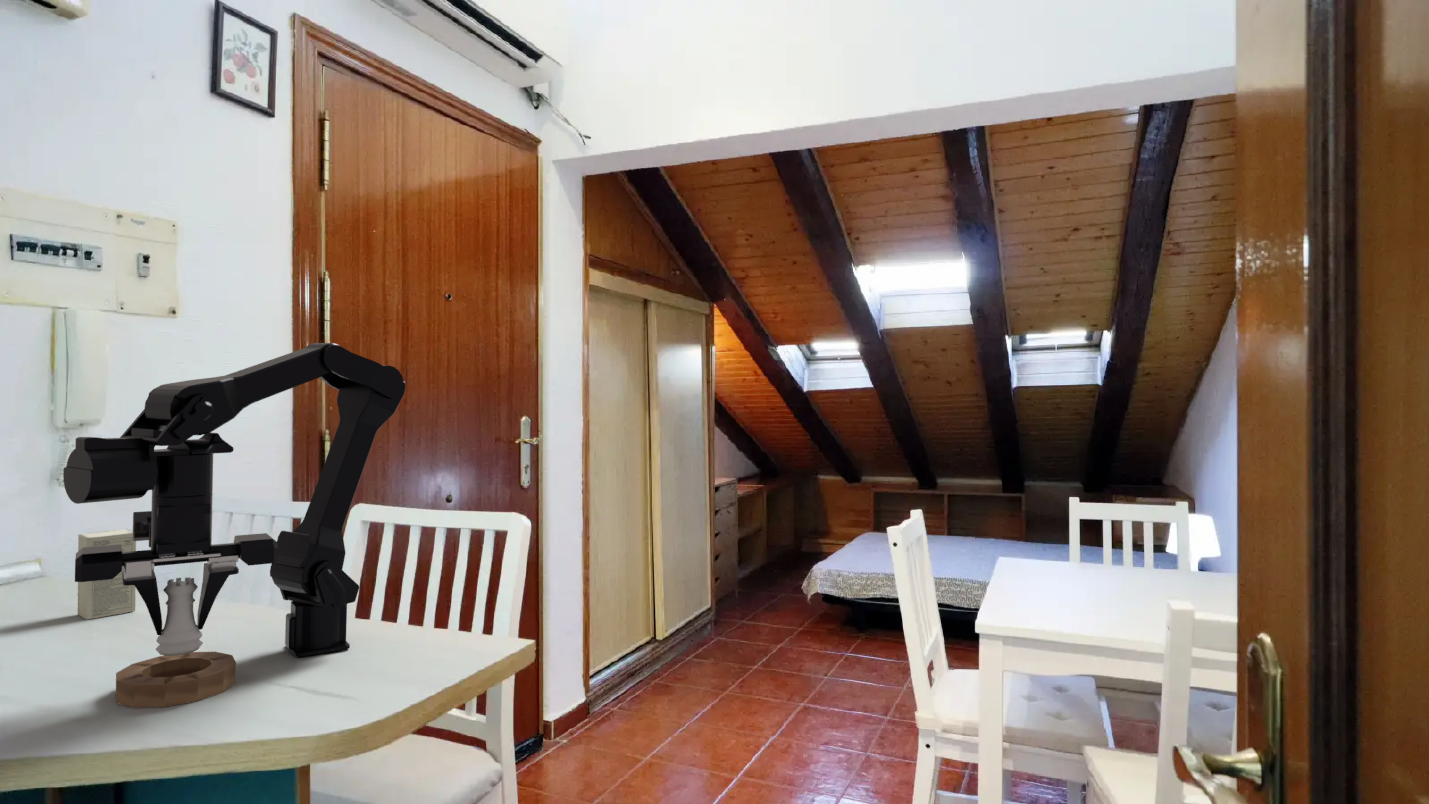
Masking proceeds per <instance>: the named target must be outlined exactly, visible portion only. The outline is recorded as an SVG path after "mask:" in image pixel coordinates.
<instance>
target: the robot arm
mask: <svg viewBox="0 0 1429 804" xmlns="http://www.w3.org/2000/svg"><path fill="white" fill-rule="evenodd" d="M319 378H320V379H321V380H322V381H323V382H324V384H326V385H327V386H329V387H331V388H334V389H335V390H337V391H338V394H337V398H336V403H337V408H338V409H337V410H338V414H339V423H338V426H337V429H336V432H335V433H334V437H333V439H332V442H331V445H330V447H329V451H328V453H327V456H326V458H325V461H324V464H323V465H322V466H323V467H322V469H321V472H320V475H319V477H318V479H317V483H316V486H315V488H314V491H313V493H312V496H311V499H310V502H309V504H308V507H307V508H306V509H307V510H306V512H305V515H304V516H303V520H302V521H301V522H300V524H299V525H298V526H296V528H295V529H294V530H293V531H288V530H281V531H280V532H279V534H278V536H277V540H275V539H274V538H273V537H272V536H270V535H269V534H268V533H264V532H262V533H251V534H241V535H240V534H237V535H234V538H233V542H230V543H218V544H217V543H216V544H215V543H214V544H212V542H213V541H212V540H213V539H212V537H213V535H212V533H213V531H212V529H213V496H214V495H213V493H214V491H213V488H214V487H213V486H214V485H213V484H214V483H213V482H214V479H213V478H214V454H231V453H232V452H233V451H234V446H232V445H231V444H230V443H228V442H227V441H225V440H224V439H223V438H222V437H221V436H220V434H219V433H218V432H214V431H215V430H217V429H218V428H220V427H222V426H223V425H225V424H227V423H229V422H230V421H232V420H233V419H235V418H236V417H237V416H238V415H239V414H240V413H241V412H242V411H243V410H244V409H245V408H247V407H249V406H250V405H252V404H254V403H257V402H260V401H262V400H264V399H267V398H270V397H272V396H273V397H274V396H275V395H278V394H280V393H282V392H285V391H288V390H291V389H293V388H295V387H298V386H301V385H303V384H306V383H308V382H311V381H313V380H317V379H319ZM406 384H407V383H406V381H405V380H404V377H403V374H401V372H400V370H399V369H398V368H396V367H395V366H393V365H387V364H386V365H382V363H379V362H377V361H375V360H372V359H369V358H367V357H364V356H362V355H359V354H357V353H354V352H351V351H350V350H348V349H346V348H345V347H343V346H341V345H339V344H338V343H333V342H324V343H322V342H320V343H319V342H315V343H309V344H307V346H306V347H304V348H301V349H299V350H296V351H293V352H289V353H287V354H286V353H285V354H284V355H281V356H277V357H275V358H273V359H269V360H266V361H264V362H261V363H258V364H255V365H251V366H249V367H246V368H243V369H240V370H238V371H234V372H231V373H228V374H225V375H222V376H221V375H220V376H214V377H206V378H205V377H204V378H195V379H188V380H182V381H178V382H177V381H176V382H170V383H164V384H160V385H159V386H157V387H154V388H153V389H152V390H151V391H149V393H148V396H147V398H146V400H145V401H144V402H145V403H144V409H143V410H142V411H141V412H140V414H138V416H137V417H136V418H135V420H134V421H133V422H132V423H131V424H130V425H129V427H127V428H126V430H125V431H124V432H123V434H122V435H121V436H120V437H95V436H77V437H76V438H75V447H74V449H73V450H72V451H71V452H70V454H69V456H68V459H67V460H66V461H67V462H66V466H64V467H63V470H62V471H63V473H62V474H63V475H62V476H63V477H62V478H63V484H64V485H63V486H64V489H65V492H66V495H67V497H68V499H69V500H70V501H71V502H73V503H74V504H79V505H80V504H88V503H90V504H91V503H99V502H100V503H101V502H111V501H120V500H121V501H123V500H133V499H141V498H142V497H144V496H145V495H146V494H147V493H148V492H149V491H151V510H147V511H145V510H144V511H134V512H133V513H132V531H133V541H136V542H143V541H148V547H149V548H150V549H144V550H136V551H130V552H122V547H121V545H108V546H95V547H83V548H82V549H80V550H79V551H78V550H77V552H76V553H75V557H74V558H75V560H74V561H75V562H74V582H75V583H78V582H88V581H98V580H108V579H113V578H114V577H116V576H117V575H118V574H119V573H120V572H121V573H122V583H123V585H134V586H135V587H136V591H137V592H138V594H139V595H140V597H141V599H142V601H143V602H144V604H145V606H146V608H147V610H148V613H149V616H150V619H151V621H152V623H153V627H154V630H155V632H156V635H157V636H160V635H162V629H163V618H162V616H163V615H162V610H161V604H160V597H159V596H160V595H159V588H158V580H157V576H156V573H155V567H158V566H160V567H161V566H169V565H171V566H173V565H181V564H182V565H183V564H191V563H192V564H193V563H201V562H202V563H203V573H202V583H201V589H200V595H199V602H198V609H197V615H196V616H197V619H196V620H197V622H196V625H197V626H198V628H197V629H198V630H200V631H201V630H203V628H204V626H205V624H206V621H207V619H208V617H209V615H210V613H211V610H212V608H213V605H214V604H215V601H216V599H217V596H218V595H219V593H220V591H221V589H222V588H223V586H224V585H225V583H226V581H227V579H228V578H229V577H230V576H231V575H232V576H233V575H238V574H239V570H240V569H239V568H238V566H237V563H238V562H239V559H240V560H241V561H242V562H243V563H244V564H246V565H247V566H259V565H267V564H268V565H269V564H270V568H269V577H271V579H272V582H273V584H274V585H275V586H276V587H277V588H279V590H280V591H279V592H280V593H281V596H282V599H283V600H284V601H290V612H289V613H286V614H285V630H284V632H285V633H284V634H285V636H284V645H285V646H286V647H287V649H288V650H289V651H290V652H291V653H292V655H294V657H295V658H299V657H306V656H312V655H317V654H318V655H319V654H324V653H330V652H336V651H342V650H348V649H350V645H351V644H350V643H349V642H348V641H347V620H348V618H347V617H348V616H347V615H348V611H347V610H348V604H351V603H355V602H356V599H357V596H358V592H359V590H360V585H359V584H358V583H356V581H355V580H354V579H352V578H351V577H350V576H349V575H348V574H347V572H345V571H344V570H343V568H344V563H345V557H346V548H345V541H344V535H343V531H344V530H343V528H344V525H345V523H346V520H347V517H348V514H349V512H350V509H351V506H352V503H353V500H354V497H355V494H356V491H357V489H358V486H359V484H360V480H361V478H362V475H363V471H364V469H365V465H366V464H367V460H368V457H369V454H370V453H371V449H372V446H373V444H374V441H375V437H376V434H377V432H378V431H379V429H381V427H383V425H384V424H385V423H387V421H388V420H389V419H390V418H391V417H392V416H393V415H394V414H395V413H396V411H397V409H398V407H399V405H400V403H401V402H402V400H403V398H404V396H405V394H406V387H407V385H406ZM193 436H201V437H200V438H197V439H194V438H192V437H193ZM191 438H192V439H191ZM156 446H158V447H165V446H167V448H160V449H159V448H158V449H155V447H156Z"/></svg>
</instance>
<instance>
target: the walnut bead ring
mask: <svg viewBox="0 0 1429 804" xmlns="http://www.w3.org/2000/svg"><path fill="white" fill-rule="evenodd" d="M236 665H237V661H236V660H235V657H234V656H233V654H229V653H225V652H224V653H223V652H219V651H194V652H191V653H187V654H182V655H174V656H164V655H160V656H159V655H158V656H156V657H151V658H149V659H145V660H141V661H138V662H134V663H131V664H130V665H128V666H125V667H124V668H122V669H121V670H119V671H117V672H115V701H116V702H115V704H118V705H121V706H127V707H129V708H134V709H137V708H140V709H141V708H143V709H144V708H165V707H166V708H168V707H171V706H178V705H183V704H188V703H194V702H199V701H201V700H204V699H208V698H210V697H212V696H216V695H218V694H222V693H223V692H225V691H227V690H228V689H229V688H230V687H231V686H233V685H234V684H236V674H237V673H236V670H237V669H236V668H237V666H236Z"/></svg>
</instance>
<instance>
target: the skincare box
mask: <svg viewBox="0 0 1429 804" xmlns="http://www.w3.org/2000/svg"><path fill="white" fill-rule="evenodd" d="M77 535H78V547H77V549H78V550H77V552H78V551H79V550H80V549H82V548H83V547H95V546H108V545H121V547H122V552H130V551H137V541H133V530H130V529H128V528H122V529H121V528H119V529H111V530H104V531H96V532H93V531H92V532H87V533H86V532H85V533H79V534H77ZM136 591H137V589H136V587H135V586H134V585H123V583H122V573H121V572H120V573H119V574H118V575H117V576H116V577H114V578H113V579H108V580H98V581H88V582H77V615H79V616H80V617H81V618H83V619H85V620H92V619H99V618H104V617H109V616H113V615H121V614H125V613H131V612H136V602H137V601H136V598H137V597H136V595H137V593H136Z"/></svg>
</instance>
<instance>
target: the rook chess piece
mask: <svg viewBox="0 0 1429 804" xmlns="http://www.w3.org/2000/svg"><path fill="white" fill-rule="evenodd" d="M198 586H199V585H197V584H196V583H195V578H194V577H192V578H191V577H190V576H189V577H184V580H182V577H176V578H175V580H174V579H173V578H170V579H168V580H167V582H166V586H165V587H164V588H163V590H162V591H163V592H164V593H165V594H166V595H167V600H166V602H165V605H166V607H167V608H166V609H167V610H166V611H167V612H166V618H165V622H164V626H163V627H162V635H158V636H157V637H156V643H157V644H159V645H158V646H157V647H156V648H155V650H156V652H158V654H159V655H160V656H174V655H182V654H187V653H191V652H197V651H198V650H199V649H200V648H201V646H202V645H203V644H204V642H203V641H202V640H201V638H202V637H203V633H202V631H201V630H198V626H197V622H196V619H195V615H194V613H195V612H194V603H195V601H196V599H195V598H194V592H195V591H196V590H197V589H198Z"/></svg>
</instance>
